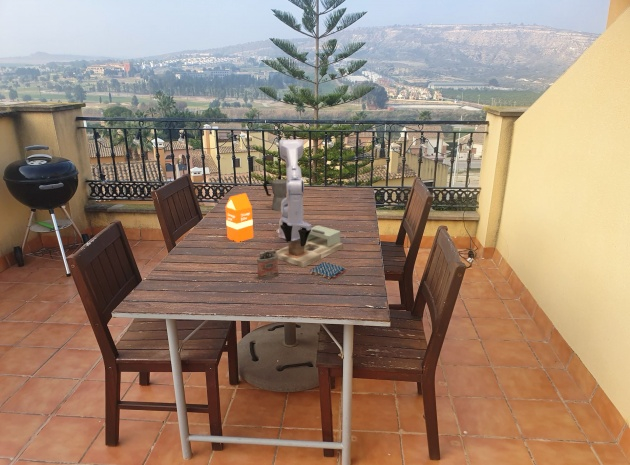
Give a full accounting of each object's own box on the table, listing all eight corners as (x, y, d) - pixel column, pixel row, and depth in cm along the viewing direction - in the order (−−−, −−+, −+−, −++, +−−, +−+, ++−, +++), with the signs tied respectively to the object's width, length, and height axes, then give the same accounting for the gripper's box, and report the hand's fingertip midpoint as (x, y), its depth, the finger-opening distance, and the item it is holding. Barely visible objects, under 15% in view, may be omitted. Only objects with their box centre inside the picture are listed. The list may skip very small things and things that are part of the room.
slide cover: (305, 240, 198) (305, 228, 196) (317, 235, 204) (317, 223, 202) (328, 246, 190) (329, 234, 189) (340, 241, 196) (340, 229, 194)
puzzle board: (273, 257, 186) (272, 252, 185) (313, 239, 205) (313, 234, 204) (303, 267, 177) (303, 262, 176) (342, 247, 196) (342, 243, 195)
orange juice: (253, 237, 208) (251, 194, 201) (237, 242, 202) (235, 198, 195) (242, 233, 213) (240, 191, 206) (227, 238, 207) (224, 195, 200)
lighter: (259, 280, 166) (258, 254, 163) (256, 276, 169) (255, 251, 166) (280, 275, 170) (279, 250, 166) (276, 272, 172) (275, 247, 169)
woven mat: (332, 281, 166) (332, 276, 165) (308, 274, 172) (308, 269, 171) (347, 272, 174) (347, 267, 173) (324, 265, 180) (324, 260, 179)
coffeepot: (290, 205, 256) (290, 173, 250) (293, 210, 247) (293, 177, 241) (263, 207, 253) (261, 174, 247) (265, 212, 244) (263, 178, 238)
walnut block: (288, 253, 184) (288, 242, 183) (295, 250, 187) (295, 239, 186) (297, 256, 181) (297, 245, 180) (304, 252, 185) (304, 242, 183)
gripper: (274, 209, 180) (275, 242, 184) (303, 216, 171) (303, 250, 176) (286, 205, 185) (287, 237, 189) (315, 212, 176) (314, 245, 181)
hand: (295, 243), depth 183 cm, fingers open, 7 cm apart
